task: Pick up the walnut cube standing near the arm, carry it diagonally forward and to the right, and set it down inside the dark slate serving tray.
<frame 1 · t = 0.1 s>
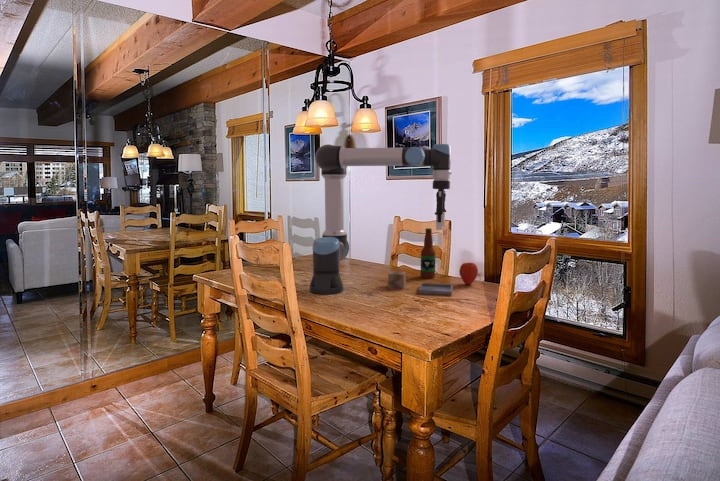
hand: (440, 228, 205), 28 cm above the table, fingers open, 13 cm apart
slate tray: (435, 290, 206), on the table
bottle: (427, 277, 235), on the table
walnut cube: (397, 287, 213), on the table
apple: (468, 285, 219), on the table
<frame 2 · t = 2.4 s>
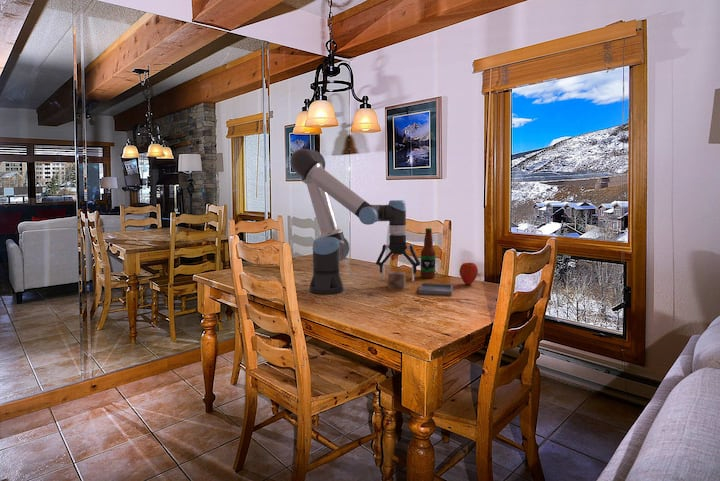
hand: (398, 280, 213), 3 cm above the table, fingers open, 13 cm apart
nothing on the table moved.
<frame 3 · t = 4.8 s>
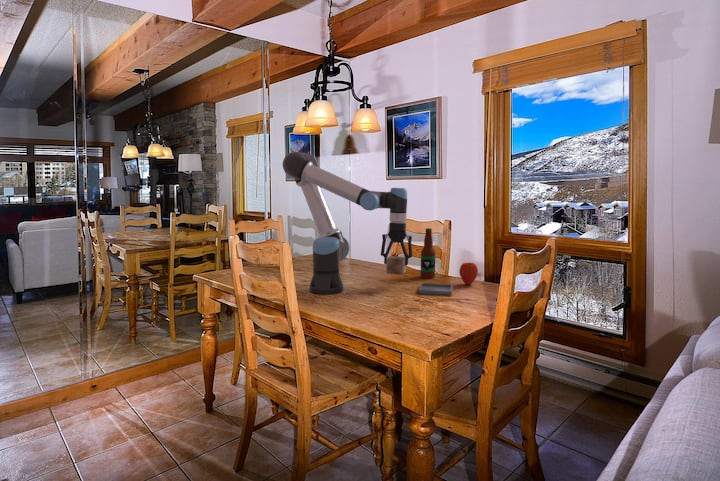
hand: (395, 271, 212), 7 cm above the table, fingers closed on walnut cube, 7 cm apart
walnut cube: (395, 272, 212), point 7 cm above the table, touching gripper
everything else where it was.
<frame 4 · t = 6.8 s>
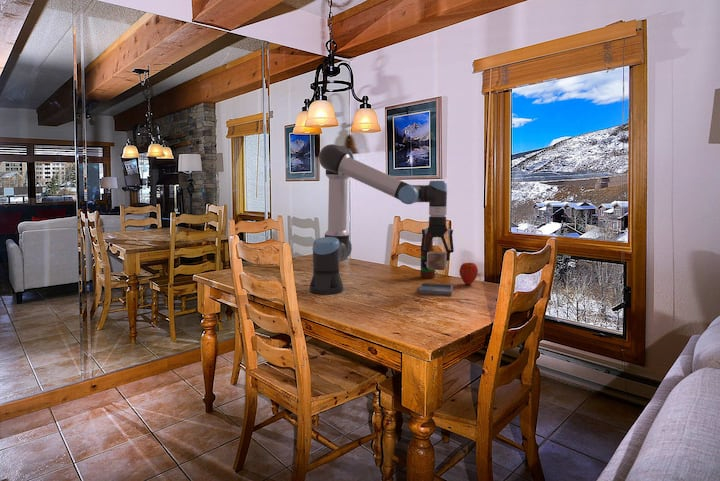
hand: (436, 267, 205), 11 cm above the table, fingers closed on walnut cube, 7 cm apart
walnut cube: (436, 268, 205), point 10 cm above the table, touching gripper
everything else where it was.
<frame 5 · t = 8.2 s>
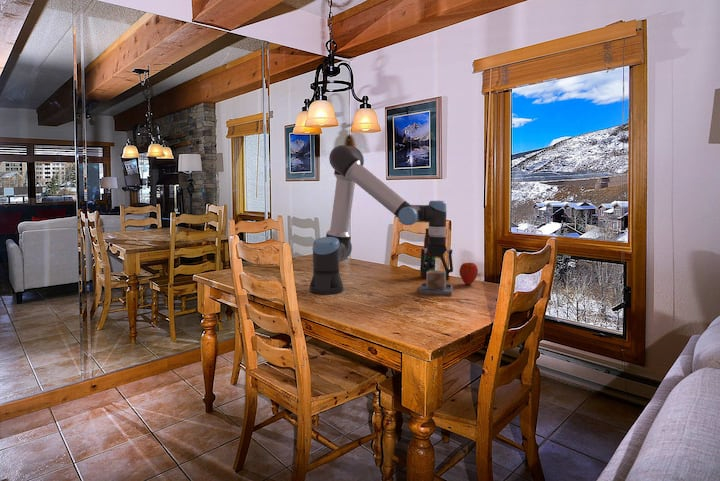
hand: (436, 286, 206), 2 cm above the table, fingers closed on walnut cube, 7 cm apart
walnut cube: (436, 287, 206), point 2 cm above the table, touching gripper
everything else where it was.
when the fingers open (2 cm above the table, at t = 9.1 s): walnut cube stays where it is, resting on slate tray.
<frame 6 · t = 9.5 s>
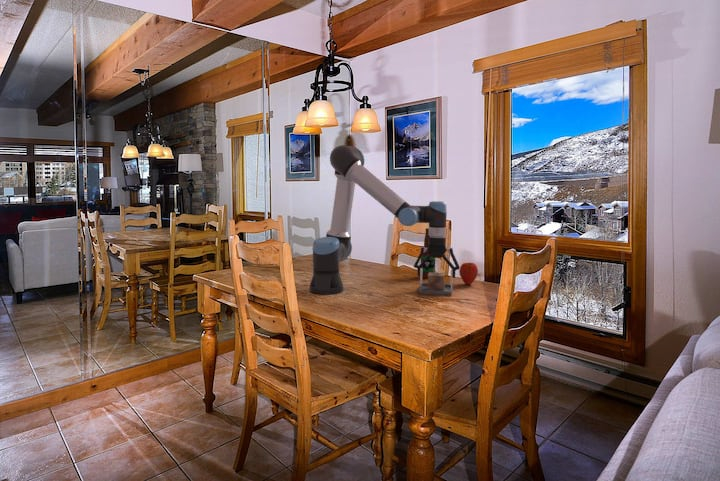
hand: (436, 284, 206), 3 cm above the table, fingers open, 13 cm apart
walnut cube: (436, 289, 206), point 1 cm above the table, touching slate tray
everything else where it was.
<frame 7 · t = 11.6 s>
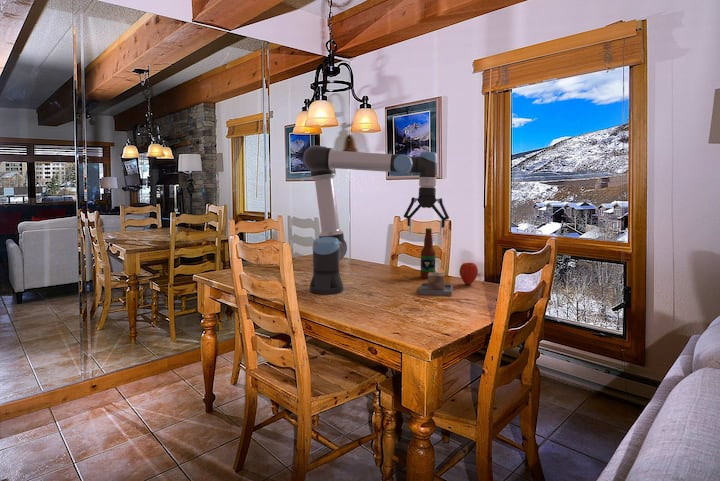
hand: (425, 234, 210), 25 cm above the table, fingers open, 13 cm apart
nothing on the table moved.
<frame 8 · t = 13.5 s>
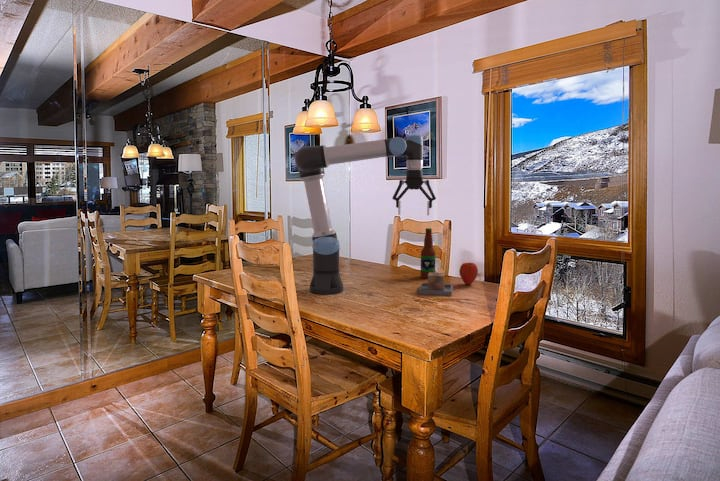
hand: (413, 215, 218), 33 cm above the table, fingers open, 13 cm apart
nothing on the table moved.
at the end: walnut cube inside the target area on the slate tray (0.0 cm from its centre), point 0.6 cm above the slate tray's base; walnut cube tilted 0°; the gripper is holding nothing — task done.
